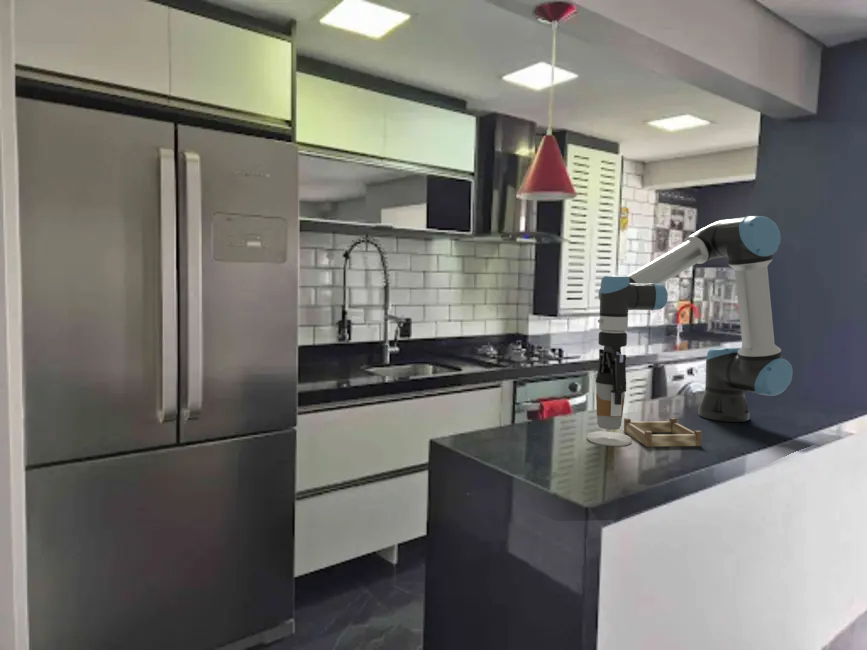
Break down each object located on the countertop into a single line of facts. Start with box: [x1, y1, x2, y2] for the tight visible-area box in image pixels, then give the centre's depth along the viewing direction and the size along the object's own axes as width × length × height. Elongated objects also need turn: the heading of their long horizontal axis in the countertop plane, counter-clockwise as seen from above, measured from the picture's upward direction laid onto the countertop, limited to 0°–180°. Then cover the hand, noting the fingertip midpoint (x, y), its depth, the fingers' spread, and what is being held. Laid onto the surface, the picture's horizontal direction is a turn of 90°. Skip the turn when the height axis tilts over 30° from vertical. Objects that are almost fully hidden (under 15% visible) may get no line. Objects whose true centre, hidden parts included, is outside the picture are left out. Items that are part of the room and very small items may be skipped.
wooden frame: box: [623, 417, 703, 448], centre depth 162 cm, size 15×15×4 cm
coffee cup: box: [595, 372, 626, 431], centre depth 159 cm, size 8×8×15 cm
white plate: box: [586, 430, 633, 447], centre depth 160 cm, size 12×12×1 cm
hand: (609, 411), depth 159 cm, fingers closed on coffee cup, 8 cm apart
